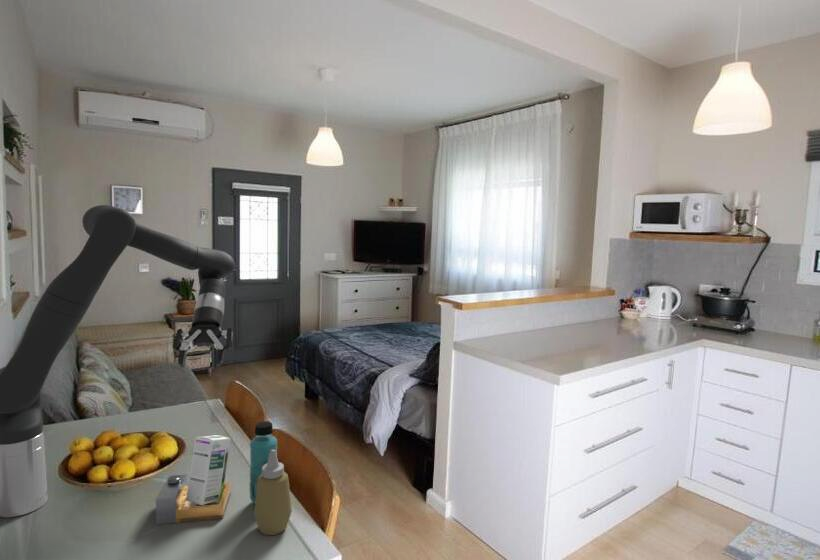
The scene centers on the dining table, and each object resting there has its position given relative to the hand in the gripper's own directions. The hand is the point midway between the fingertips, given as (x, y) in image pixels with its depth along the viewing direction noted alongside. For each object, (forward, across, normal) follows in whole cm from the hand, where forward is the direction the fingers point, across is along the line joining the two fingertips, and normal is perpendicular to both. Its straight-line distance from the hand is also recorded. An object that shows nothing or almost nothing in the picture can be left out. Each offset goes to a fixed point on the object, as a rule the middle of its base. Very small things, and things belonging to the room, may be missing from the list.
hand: (199, 365), depth 120 cm
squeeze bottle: (+39, +20, +5) cm, 44 cm away
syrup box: (+30, +3, +10) cm, 32 cm away
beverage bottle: (+32, +17, +12) cm, 38 cm away
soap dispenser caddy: (+31, +2, +12) cm, 34 cm away
